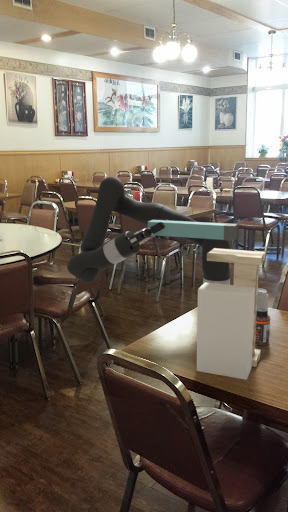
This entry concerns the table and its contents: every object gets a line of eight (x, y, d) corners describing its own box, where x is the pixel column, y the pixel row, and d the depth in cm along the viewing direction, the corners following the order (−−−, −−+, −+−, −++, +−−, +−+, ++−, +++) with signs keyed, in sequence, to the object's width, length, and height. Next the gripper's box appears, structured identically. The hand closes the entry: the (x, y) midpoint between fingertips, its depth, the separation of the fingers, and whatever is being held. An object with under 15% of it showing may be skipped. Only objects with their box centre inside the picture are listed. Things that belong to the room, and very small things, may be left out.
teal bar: (153, 232, 144) (152, 219, 143) (237, 238, 134) (237, 223, 133) (147, 235, 140) (147, 221, 139) (234, 240, 130) (234, 226, 129)
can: (252, 326, 163) (253, 293, 161) (242, 319, 170) (243, 287, 168) (271, 324, 165) (273, 292, 163) (260, 317, 172) (262, 286, 170)
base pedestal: (203, 360, 138) (205, 282, 132) (251, 368, 132) (254, 287, 127) (196, 370, 131) (197, 289, 126) (246, 379, 126) (250, 294, 121)
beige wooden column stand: (211, 348, 146) (214, 248, 139) (260, 355, 141) (265, 251, 133) (204, 358, 139) (206, 253, 132) (255, 367, 133) (260, 257, 126)
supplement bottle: (246, 342, 150) (247, 309, 148) (256, 337, 154) (257, 304, 152) (262, 347, 146) (264, 313, 144) (272, 342, 150) (274, 308, 148)
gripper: (105, 241, 140) (151, 215, 133) (125, 233, 153) (168, 209, 145) (117, 263, 140) (163, 238, 133) (136, 253, 153) (179, 230, 146)
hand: (165, 223), depth 139 cm, fingers closed on teal bar, 4 cm apart
